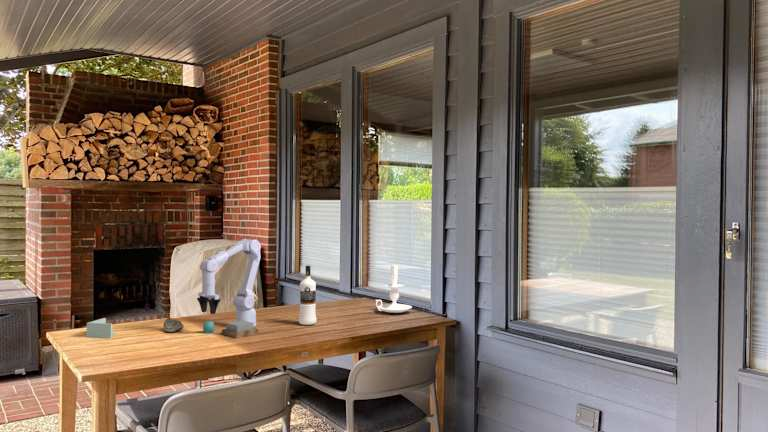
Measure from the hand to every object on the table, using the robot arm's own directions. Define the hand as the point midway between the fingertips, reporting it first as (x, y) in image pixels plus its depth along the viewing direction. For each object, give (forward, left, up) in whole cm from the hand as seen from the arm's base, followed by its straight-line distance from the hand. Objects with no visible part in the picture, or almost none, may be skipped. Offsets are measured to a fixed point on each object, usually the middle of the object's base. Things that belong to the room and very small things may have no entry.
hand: (208, 312), depth 276 cm
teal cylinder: (0, 0, -9) cm, 9 cm away
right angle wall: (+36, -26, -10) cm, 46 cm away
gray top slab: (-8, +14, -7) cm, 18 cm away
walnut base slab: (-8, +14, -10) cm, 19 cm away
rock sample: (+14, -12, -10) cm, 21 cm away
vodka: (-47, +18, -10) cm, 51 cm away
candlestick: (-101, +30, -10) cm, 106 cm away
